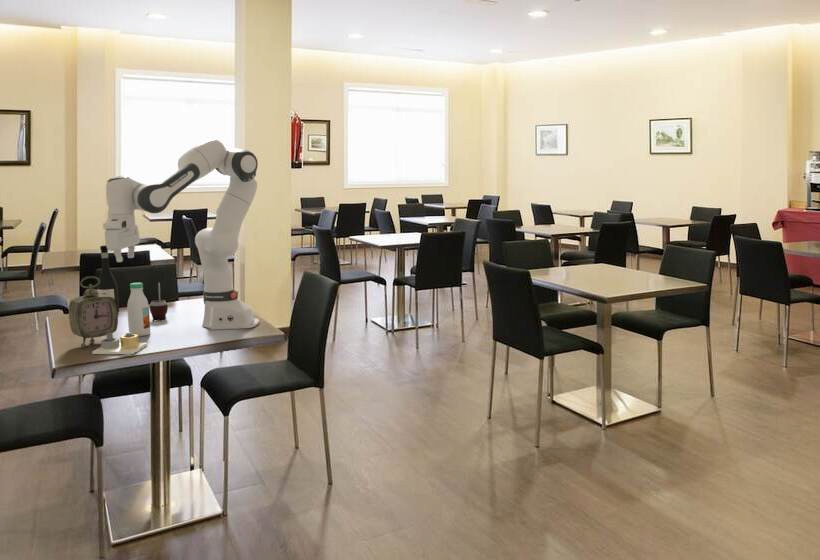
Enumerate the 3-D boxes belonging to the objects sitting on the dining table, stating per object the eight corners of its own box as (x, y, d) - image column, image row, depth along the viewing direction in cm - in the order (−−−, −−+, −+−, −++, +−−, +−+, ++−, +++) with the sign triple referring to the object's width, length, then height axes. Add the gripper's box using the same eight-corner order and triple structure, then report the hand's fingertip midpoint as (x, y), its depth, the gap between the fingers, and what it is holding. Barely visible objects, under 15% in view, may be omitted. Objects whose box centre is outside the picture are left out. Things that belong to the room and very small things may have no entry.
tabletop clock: (80, 350, 247) (74, 280, 243) (69, 345, 253) (63, 277, 249) (120, 342, 258) (114, 275, 254) (108, 338, 264) (103, 272, 260)
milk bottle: (137, 337, 264) (134, 285, 261) (124, 335, 268) (120, 283, 265) (155, 333, 270) (151, 282, 267) (142, 331, 275) (138, 280, 271)
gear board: (147, 346, 252) (145, 329, 251) (132, 355, 240) (131, 337, 239) (109, 345, 253) (107, 329, 252) (92, 354, 241) (91, 337, 240)
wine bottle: (114, 315, 303) (109, 246, 298) (96, 315, 303) (90, 246, 298) (122, 311, 311) (117, 244, 306) (104, 311, 311) (99, 244, 306)
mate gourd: (156, 322, 290) (154, 286, 287) (146, 319, 294) (143, 284, 292) (172, 319, 296) (170, 284, 293) (161, 316, 300) (159, 282, 298)
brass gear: (125, 345, 249) (125, 334, 248) (140, 345, 249) (140, 334, 248) (119, 349, 244) (118, 337, 243) (134, 349, 243) (133, 337, 243)
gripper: (125, 219, 262) (129, 255, 265) (100, 224, 242) (104, 264, 245) (142, 218, 262) (145, 255, 264) (118, 224, 242) (122, 263, 244)
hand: (125, 259), depth 254 cm, fingers open, 8 cm apart
